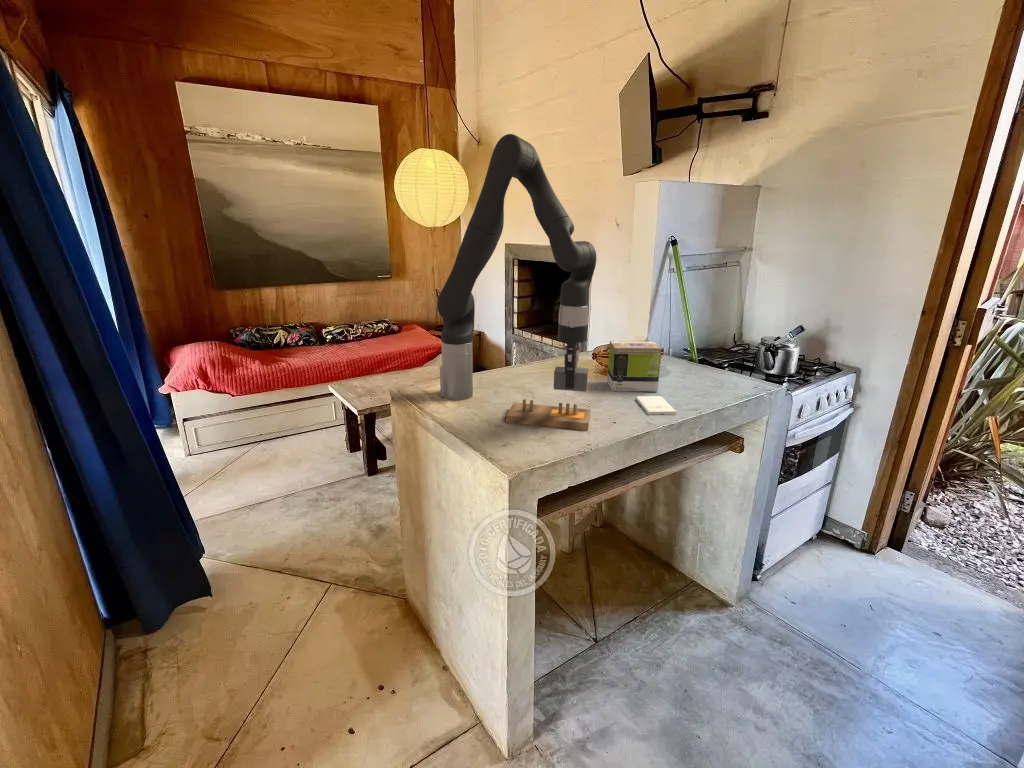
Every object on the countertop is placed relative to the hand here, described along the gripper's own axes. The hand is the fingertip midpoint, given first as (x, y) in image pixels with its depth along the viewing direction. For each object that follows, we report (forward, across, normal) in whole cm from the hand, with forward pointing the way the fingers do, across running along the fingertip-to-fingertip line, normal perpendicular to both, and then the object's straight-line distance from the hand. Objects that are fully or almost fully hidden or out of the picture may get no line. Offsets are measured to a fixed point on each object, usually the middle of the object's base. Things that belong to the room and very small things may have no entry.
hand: (570, 384), depth 132 cm
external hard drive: (+11, -17, +24) cm, 32 cm away
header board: (+10, 0, -5) cm, 12 cm away
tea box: (+11, -34, +18) cm, 40 cm away
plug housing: (+1, 0, 0) cm, 1 cm away
